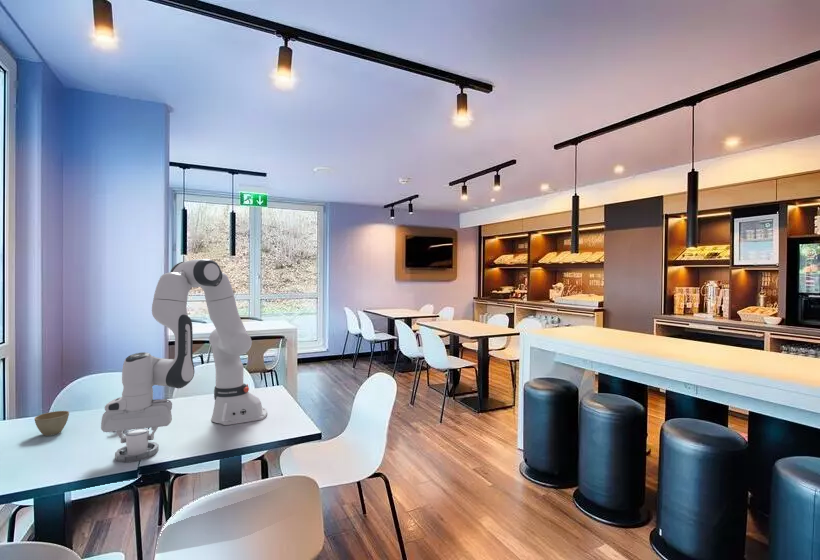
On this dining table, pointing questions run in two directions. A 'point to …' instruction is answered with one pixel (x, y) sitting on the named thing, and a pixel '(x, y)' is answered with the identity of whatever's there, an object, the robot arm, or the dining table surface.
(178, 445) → the dining table surface
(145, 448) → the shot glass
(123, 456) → the bowl
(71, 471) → the dining table surface
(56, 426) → the tan bowl
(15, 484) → the dining table surface
